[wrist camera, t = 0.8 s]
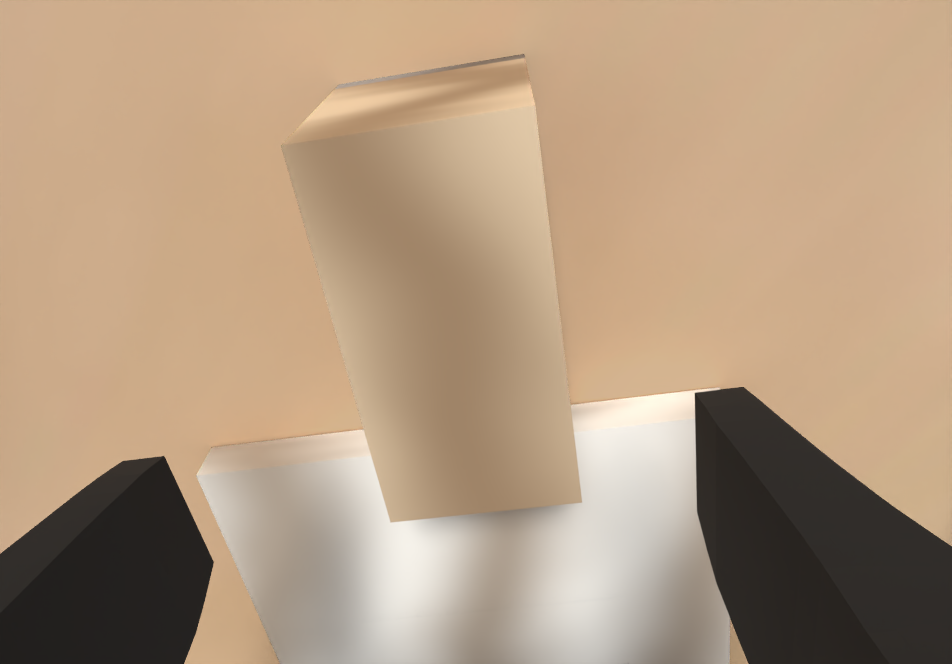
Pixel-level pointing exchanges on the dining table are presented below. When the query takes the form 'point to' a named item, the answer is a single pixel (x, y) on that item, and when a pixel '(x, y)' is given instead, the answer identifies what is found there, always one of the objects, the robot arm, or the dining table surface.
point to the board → (479, 554)
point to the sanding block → (442, 285)
